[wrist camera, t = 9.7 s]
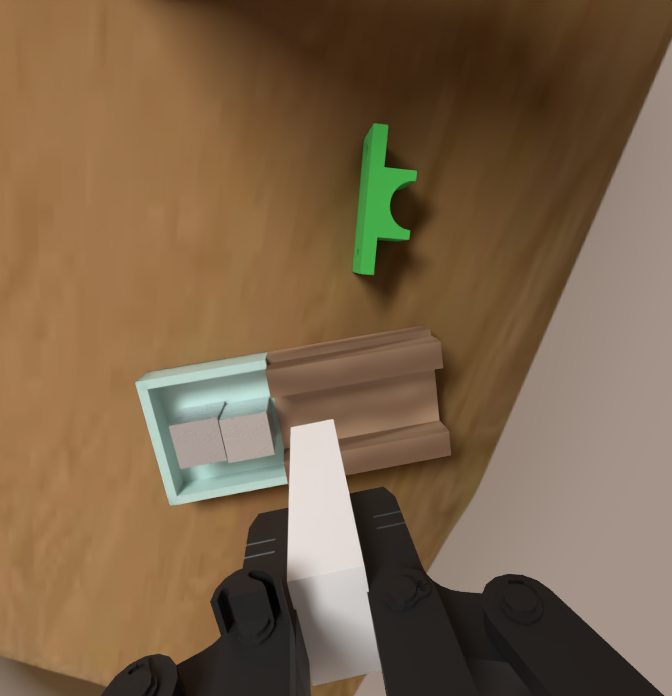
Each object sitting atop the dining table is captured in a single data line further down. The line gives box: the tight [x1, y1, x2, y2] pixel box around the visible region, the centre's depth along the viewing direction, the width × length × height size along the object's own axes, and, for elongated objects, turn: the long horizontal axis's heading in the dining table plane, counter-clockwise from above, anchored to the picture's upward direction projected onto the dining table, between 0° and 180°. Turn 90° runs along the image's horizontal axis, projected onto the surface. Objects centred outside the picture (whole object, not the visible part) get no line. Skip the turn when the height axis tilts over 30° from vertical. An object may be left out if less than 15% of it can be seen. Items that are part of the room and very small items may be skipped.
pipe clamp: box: [353, 123, 417, 275], centre depth 34 cm, size 11×4×5 cm, turn 175°
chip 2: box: [219, 396, 277, 463], centre depth 36 cm, size 4×4×4 cm
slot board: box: [265, 325, 451, 486], centre depth 37 cm, size 12×15×4 cm
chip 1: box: [169, 401, 227, 469], centre depth 36 cm, size 4×4×4 cm
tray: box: [135, 352, 288, 506], centre depth 37 cm, size 12×11×3 cm
